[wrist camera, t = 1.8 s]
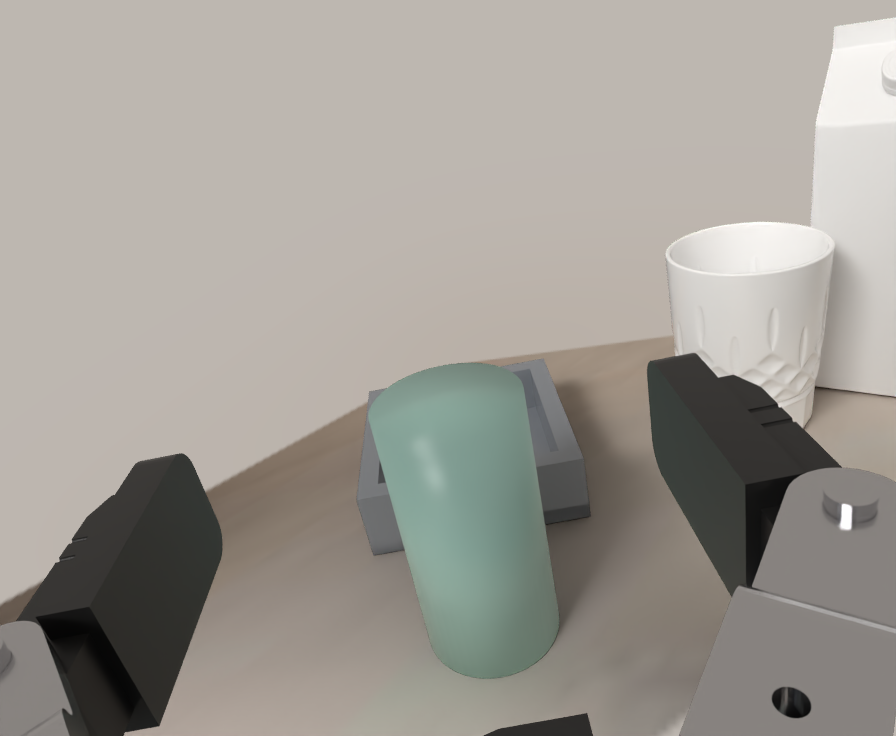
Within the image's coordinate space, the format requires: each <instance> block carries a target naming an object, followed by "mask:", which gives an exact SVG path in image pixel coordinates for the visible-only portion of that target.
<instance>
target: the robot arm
mask: <svg viewBox="0 0 896 736" xmlns="http://www.w3.org/2000/svg"><path fill="white" fill-rule="evenodd" d="M647 378H648V391H649V404H650V417H651V429H652V441H653V448H654V453H655V457H656V460H657V464H658V467H659V469H660V472H661V474H662V476H663V478H664V480H665V482H666V483H667V485H668V487H669V488H670V490H671V492H672V494H673V495H674V497H675V499H676V501H677V502H678V504H679V506H680V508H681V509H682V511H683V513H684V515H685V516H686V518H687V520H688V522H689V523H690V525H691V527H692V529H693V530H694V532H695V534H696V536H697V537H698V539H699V541H700V543H701V544H702V546H703V548H704V550H705V551H706V553H707V555H708V557H709V558H710V560H711V562H712V563H713V565H714V567H715V569H716V570H717V572H718V574H719V576H720V577H721V579H722V581H723V583H724V584H725V586H726V588H727V590H728V591H729V593H730V595H731V597H732V599H731V601H730V604H729V606H728V609H727V611H726V614H725V617H724V619H723V622H722V624H721V627H720V630H719V632H718V635H717V638H716V640H715V643H714V645H713V648H712V651H711V653H710V656H709V658H708V661H707V664H706V666H705V669H704V671H703V674H702V677H701V679H700V682H699V685H698V687H697V690H696V692H695V695H694V698H693V700H692V703H691V705H690V708H689V711H688V713H687V716H686V718H685V721H684V724H683V726H682V729H681V732H680V734H679V736H893V732H894V724H895V716H896V482H894V481H892V480H890V479H888V478H886V477H884V476H881V475H878V474H875V473H872V472H868V471H864V470H859V469H852V468H842V467H841V466H840V465H839V464H838V463H837V462H836V461H835V460H834V459H833V458H832V457H831V456H830V455H829V454H828V453H827V452H826V451H825V450H824V449H823V448H822V447H821V446H820V445H819V444H818V443H817V442H816V441H815V440H814V439H813V438H812V437H811V436H810V435H809V434H808V433H807V432H806V431H805V430H804V429H803V428H802V427H801V426H800V425H799V424H798V423H797V422H793V420H792V417H791V416H790V415H789V414H788V413H787V412H786V411H785V410H784V409H783V408H782V407H779V406H778V403H777V402H776V401H775V400H774V399H773V398H772V397H771V396H770V395H769V394H768V393H767V392H766V391H765V390H764V389H763V388H762V387H760V386H758V385H756V384H754V383H751V382H749V381H747V380H745V379H742V378H740V377H738V376H736V375H729V376H724V377H719V378H718V377H717V376H716V374H715V373H714V372H713V371H712V370H711V369H710V368H709V367H708V366H707V364H706V363H705V362H704V361H703V360H702V359H701V358H700V357H699V356H698V355H697V354H696V353H689V354H684V355H679V356H674V357H669V358H664V359H659V360H654V361H650V362H649V363H648V368H647ZM221 556H222V534H221V529H220V526H219V523H218V520H217V518H216V516H215V514H214V511H213V509H212V507H211V505H210V502H209V500H208V498H207V495H206V493H205V491H204V489H203V486H202V484H201V482H200V480H199V477H198V475H197V473H196V470H195V468H194V466H193V464H192V462H191V461H190V459H189V458H188V457H187V456H186V455H184V454H175V455H170V456H165V457H160V458H155V459H150V460H145V461H140V462H138V463H136V464H135V465H134V467H133V468H132V470H131V471H130V473H129V474H128V476H127V477H126V479H125V480H124V482H123V484H122V485H121V486H120V488H119V490H118V491H117V493H116V494H115V495H113V496H111V497H110V498H108V499H107V500H106V501H105V502H104V503H103V504H102V505H100V506H99V507H98V508H97V509H96V510H95V511H93V512H92V513H91V514H90V515H89V516H88V517H87V518H86V519H85V521H84V522H83V524H82V525H81V527H80V528H79V530H78V531H77V532H76V534H75V535H74V537H73V538H72V543H71V544H69V545H68V546H67V547H66V549H65V550H64V552H63V553H62V555H61V556H60V557H59V559H60V562H58V563H55V565H54V566H53V568H52V569H51V571H50V572H49V574H48V575H47V577H46V578H45V579H44V581H43V582H42V584H41V585H40V587H39V588H38V590H37V591H36V593H35V594H34V596H33V597H32V599H31V600H30V601H29V603H28V604H27V606H26V607H25V609H24V610H23V612H22V613H21V615H20V616H19V618H18V619H17V621H16V622H11V623H7V624H4V625H1V626H0V736H123V735H124V733H125V732H129V731H135V730H140V729H146V728H151V727H157V726H160V723H161V720H162V717H163V715H164V712H165V709H166V707H167V704H168V701H169V698H170V696H171V693H172V690H173V688H174V685H175V682H176V679H177V677H178V674H179V671H180V669H181V666H182V663H183V660H184V658H185V655H186V652H187V650H188V647H189V644H190V641H191V639H192V636H193V633H194V631H195V628H196V625H197V622H198V620H199V617H200V614H201V612H202V609H203V606H204V603H205V601H206V598H207V595H208V593H209V590H210V587H211V584H212V582H213V579H214V576H215V574H216V571H217V568H218V565H219V563H220V560H221ZM484 736H593V734H592V730H591V726H590V722H589V718H588V715H587V713H586V714H580V715H575V716H569V717H563V718H558V719H552V720H546V721H541V722H535V723H529V724H524V725H518V726H512V727H507V728H501V729H498V730H495V731H493V732H491V733H488V734H486V735H484Z"/></svg>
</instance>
